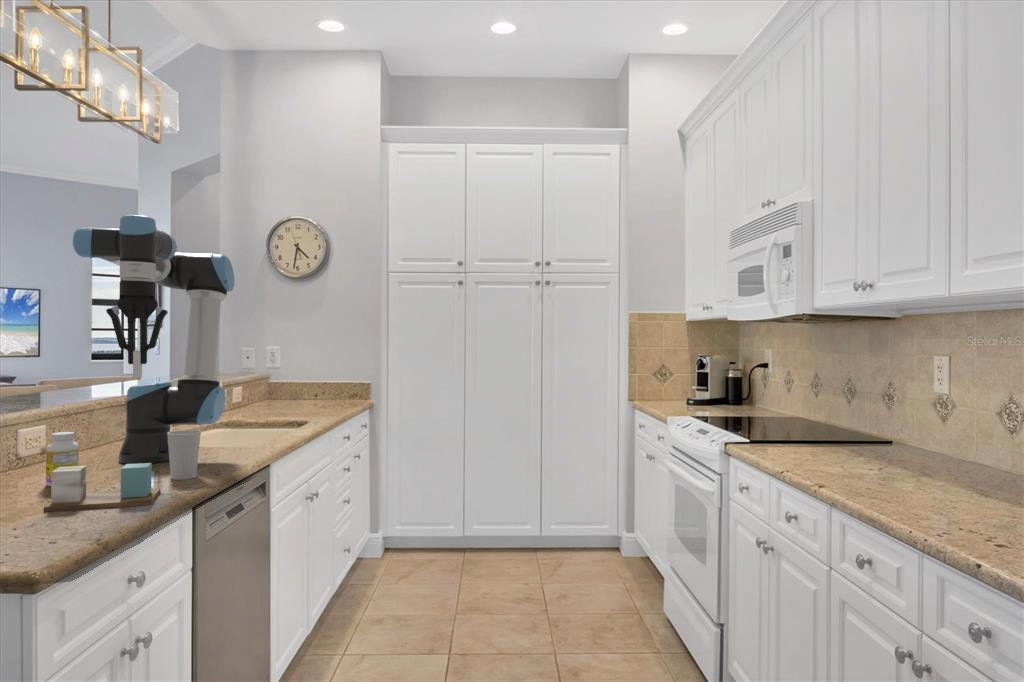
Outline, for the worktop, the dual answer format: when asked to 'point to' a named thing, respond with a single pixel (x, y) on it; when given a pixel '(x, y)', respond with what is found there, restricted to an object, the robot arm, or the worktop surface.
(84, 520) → the worktop surface
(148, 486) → the turquoise rounded cube
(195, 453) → the cup
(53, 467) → the supplement bottle
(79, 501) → the peg board
